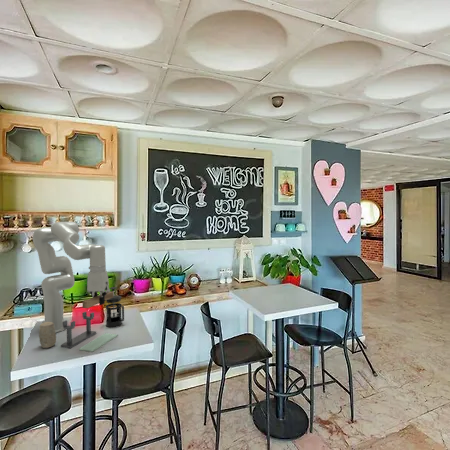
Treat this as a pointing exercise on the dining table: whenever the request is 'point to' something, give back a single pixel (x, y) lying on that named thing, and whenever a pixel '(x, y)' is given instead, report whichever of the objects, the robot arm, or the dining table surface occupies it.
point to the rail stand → (81, 337)
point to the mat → (98, 342)
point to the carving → (47, 334)
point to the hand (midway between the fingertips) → (99, 303)
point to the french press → (115, 317)
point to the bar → (96, 300)
